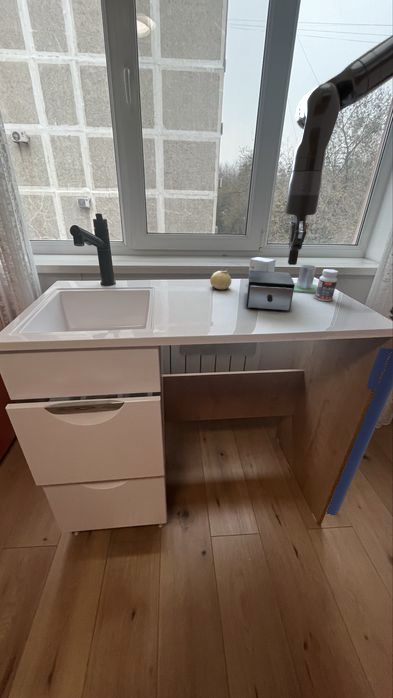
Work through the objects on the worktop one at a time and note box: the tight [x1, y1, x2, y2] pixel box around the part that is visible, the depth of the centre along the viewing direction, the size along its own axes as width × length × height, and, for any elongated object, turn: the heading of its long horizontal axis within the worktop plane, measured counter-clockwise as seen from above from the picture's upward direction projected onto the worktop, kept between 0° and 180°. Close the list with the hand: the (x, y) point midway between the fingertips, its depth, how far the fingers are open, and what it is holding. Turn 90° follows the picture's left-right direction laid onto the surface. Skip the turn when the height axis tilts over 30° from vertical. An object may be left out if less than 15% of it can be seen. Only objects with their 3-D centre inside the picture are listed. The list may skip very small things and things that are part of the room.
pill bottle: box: [314, 268, 339, 302], centre depth 99 cm, size 6×6×10 cm
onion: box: [209, 269, 232, 291], centre depth 108 cm, size 8×8×7 cm
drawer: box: [248, 284, 293, 311], centre depth 92 cm, size 15×12×7 cm
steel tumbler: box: [296, 264, 317, 289], centre depth 109 cm, size 6×6×8 cm
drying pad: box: [293, 282, 317, 294], centre depth 111 cm, size 10×10×1 cm
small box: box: [247, 256, 276, 280], centre depth 110 cm, size 8×6×10 cm
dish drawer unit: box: [245, 269, 295, 312], centre depth 95 cm, size 15×14×9 cm
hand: (291, 264), depth 79 cm, fingers closed
